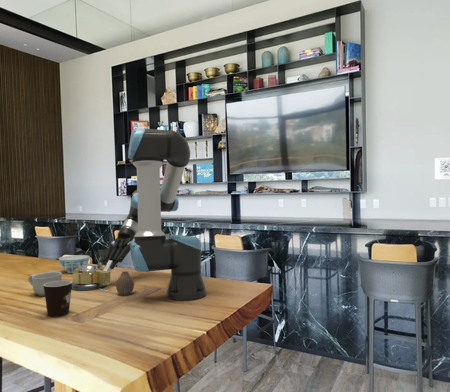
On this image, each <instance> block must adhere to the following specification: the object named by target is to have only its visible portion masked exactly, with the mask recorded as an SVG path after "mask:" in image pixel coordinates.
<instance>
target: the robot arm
mask: <svg viewBox="0 0 450 392" xmlns="http://www.w3.org/2000/svg"><path fill="white" fill-rule="evenodd" d="M190 158H191V149H190V145H189V143H188V141H187V140H186V138H185V137H184V136H183V135H182V134H181V133H179V132H178V131H175V130H172V129H155V128H135V129H132V132H131V134H130V139H129V145H128V159H129V160H132V165H133V166H134V167H135V168H136V181H137V184H136V191H137V192H135V193H133V195H132V197H131V200H130V206H129V211H128V215H127V216H126V219H125V220H124V222H123V224H122V225H121V227H120V229H119V230H118V233H117V237H116V238H115V239H114V240H113V241H111V240H110V241H109V242H108V248H107V251H106V254H105V257H104V259H105V260H106V263H105V264H104V270H103V271H108V272H110V274H111V273H112V271H113V270H114V269H115V268H116V266H117V264H118V263H122V262H123V261H124V259H125V258H126V257H127V256H128V254H129V252H130V256H131V262H132V266H133V269H134V270H135V271H136V272H138V273H150V272H157V271H159V272H160V271H170V273H171V274H170V279H169V282H168V285H167V289H166V297H167V298H168V299H170V300H175V301H191V300H193V299H194V300H198V299H197V298H199V299H202V298H204V297H205V296H207V289H206V288H207V287H206V285H205V283H204V279H203V276H202V246H201V245H202V244H201V239H200V238H199V237H196V236H191V235H184V234H183V235H182V234H171V235H170V238H166V234H165V232H164V231H163V230H162V213H161V212H163V213H164V212H166V213H167V212H168V213H171V212H177V211H178V209H179V198H178V196H177V193H178V191H179V188H180V185H181V181H182V177H183V174H184V171H185V167H187V166H188V164H189V162H190ZM164 161H166V166H165V170H164V174H163V179H162V183H161V174H160V172H161V167H163V165H164ZM203 296H204V297H203ZM201 297H202V298H201Z"/></svg>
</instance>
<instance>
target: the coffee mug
mask: <svg viewBox="0 0 450 392" xmlns="http://www.w3.org/2000/svg"><path fill="white" fill-rule="evenodd" d="M72 282H73V280H72V281H71V280H62V281H54V282H49V283H46V284H44V292H45V296H44V299H45V306H46V313H47V317H50V318H58V317H64V316H66V315H69V314H70V306H71V305H70V304H71V296H72V291H73V290H72Z"/></svg>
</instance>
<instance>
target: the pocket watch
mask: <svg viewBox="0 0 450 392" xmlns="http://www.w3.org/2000/svg"><path fill="white" fill-rule="evenodd" d="M101 260H102V257H101V256H99V258H98V262H97V264H96V265H97V268H98V269H99V268H104V267H103V263H102V261H101Z"/></svg>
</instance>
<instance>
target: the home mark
mask: <svg viewBox="0 0 450 392" xmlns="http://www.w3.org/2000/svg"><path fill="white" fill-rule="evenodd" d="M98 290H99V291H102V292H110V290H109V289H106V288H101V289H98Z"/></svg>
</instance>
